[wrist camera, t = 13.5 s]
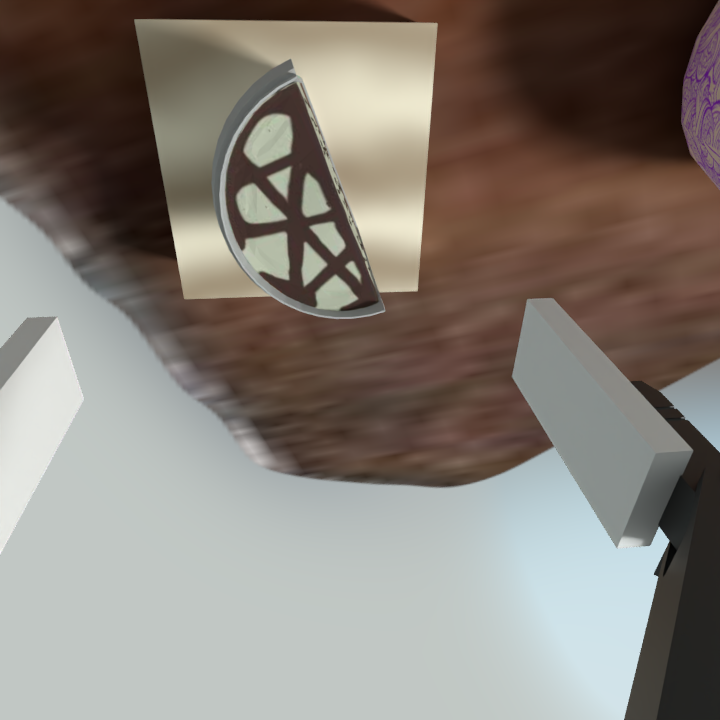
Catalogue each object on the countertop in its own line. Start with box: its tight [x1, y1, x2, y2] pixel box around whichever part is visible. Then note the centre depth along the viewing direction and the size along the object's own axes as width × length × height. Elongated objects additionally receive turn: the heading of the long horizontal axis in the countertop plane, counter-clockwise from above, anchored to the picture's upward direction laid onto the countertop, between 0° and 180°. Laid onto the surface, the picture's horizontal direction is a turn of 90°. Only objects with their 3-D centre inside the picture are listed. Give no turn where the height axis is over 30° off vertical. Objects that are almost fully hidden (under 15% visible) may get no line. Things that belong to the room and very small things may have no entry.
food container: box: [211, 59, 385, 319], centre depth 29 cm, size 12×6×10 cm, turn 20°
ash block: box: [134, 19, 437, 299], centre depth 36 cm, size 16×16×6 cm
